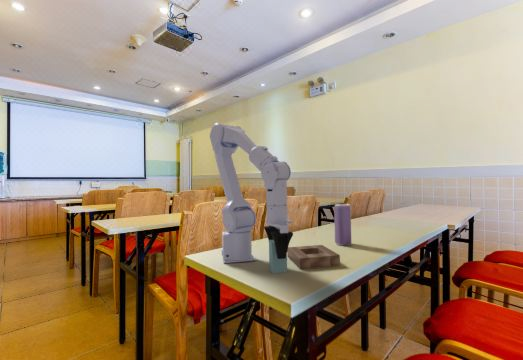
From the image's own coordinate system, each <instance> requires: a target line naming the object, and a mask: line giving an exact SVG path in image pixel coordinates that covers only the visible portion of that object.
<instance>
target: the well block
mask: <svg viewBox="0 0 523 360" xmlns="http://www.w3.org/2000/svg"><path fill="white" fill-rule="evenodd" d="M287 259H289V260H290V261H291V262H292V263H293V264H294V265H295V266H296V267H297V268H298V269H299V270H305V269H306V270H307V269H317V268H319V269H320V268H327V267H339V266H341V256H340V254H339V253H337V252H335V251H334V250H332V249H330V248H328V247H327V246H325V245H323V244H318V245H317V244H316V245H302V246H300V245H299V246H288V250H287Z"/></svg>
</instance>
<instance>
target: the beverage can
mask: <svg viewBox="0 0 523 360" xmlns="http://www.w3.org/2000/svg"><path fill="white" fill-rule="evenodd" d="M333 210H334V212H333V213H334V215H333V216H334V243H335V244H336V245H337V246H345V247H347V246H350V245H352V207H351V204H349V203H335V204H334V207H333Z"/></svg>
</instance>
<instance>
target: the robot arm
mask: <svg viewBox="0 0 523 360" xmlns="http://www.w3.org/2000/svg"><path fill="white" fill-rule="evenodd" d="M209 139H210V142H211V146H212V150H213V153H214V158H215V162H216V165H217V169H218V170H217V171H218V174H219V176H220V180H221V184H222V188H223V191H224V196H225V200H226V202H227V203H226V204H225V205H224V206H223V207H222V209H221V213H222V224H223V225H222V226H223V227H224V229H225V230H226V231H222V235H221V236H222V237H221V238H222V244H221V246H222V249H221V256H222V260H223V263H224V264H230V263H232V264H233V263H241V262H242V263H243V262H253V261H254V262H255V257H254V255H253V254H252V252H253V251H252V250H253V249H252V246H253V245H252V230H253V229H254V226H256V223H257V215H256V212H255V210H254V209H253V208H252V205H251V203H250V202H249V201H247V200H246V199H244V196H243V193H242V189H241V185H240V182H239V178H238V176H237V175H238V174H237V172H236V168H235V165H234V161H233V157H232V154H234V153H236V151H237V150H238V148H240V149H242V150H243V151H244V152H245V153H247V154H248V159H249V162H250V163H251V164H253V166H254V167H256V169H257V170H258V171H259V172H260V175H261V179H262V181H263V183H264V187H265V190H266V192H265V193H266V194H265V196H266V197H265V198H266V201H265V202H266V222H265V223H266V225H265V226H263V229H264V231H265V232H266V233H265V234H266V236H267V239H268V241H269V240H274V243H275V248H276V254H277V258H278V259H285V258H286V255H287V250H288V247H290V243H291V239H292V237H293V236H294V233H293V231H289V224H292V223H293V220H291V219H288V190H287V189H288V187H287V186H288V180H289V179H290V178H291V174H292V171H291V168H290V165H289V164H288V162H286V161H279V158H278V157H277V156H276V155H275V156H274V155H273V154H272V153H271V152H269V148H268V147H267V146H262V145H256V144H255V142H254V141H253V140H252V139H251V138H250V137H249V136H248V135H247V134H246V132H245V129H243V128H241V126H234V125H229V124H223V123H220V122H216V123H214V124H213V125H212V127H211V130H210V133H209Z"/></svg>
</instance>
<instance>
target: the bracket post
mask: <svg viewBox="0 0 523 360" xmlns="http://www.w3.org/2000/svg"><path fill="white" fill-rule="evenodd" d="M268 258H269V259H268V260H269V261H268V263H269V264H268V265H269V267H268V268H269V270H270V272H271V273H272V274H279V273H287V272H288V257H287V255H286V258H285V259H278V258H277V254H276V248H275V243H274V240H268Z"/></svg>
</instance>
